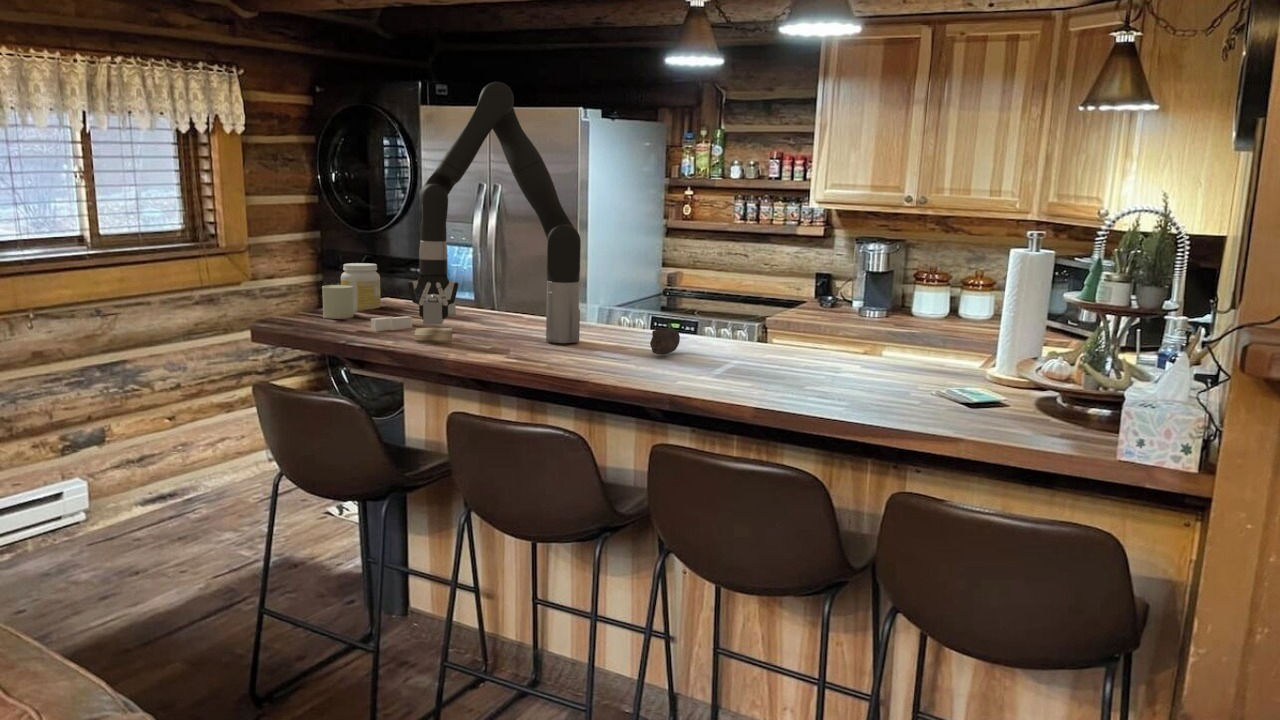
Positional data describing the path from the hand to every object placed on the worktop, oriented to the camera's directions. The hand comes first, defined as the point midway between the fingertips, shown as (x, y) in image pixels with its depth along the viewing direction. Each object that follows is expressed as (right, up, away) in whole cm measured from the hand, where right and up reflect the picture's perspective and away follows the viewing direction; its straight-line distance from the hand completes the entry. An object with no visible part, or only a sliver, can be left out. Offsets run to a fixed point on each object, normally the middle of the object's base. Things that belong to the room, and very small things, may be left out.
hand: (433, 318), depth 265 cm
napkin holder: (-15, -5, +9) cm, 18 cm away
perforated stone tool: (+64, -10, -6) cm, 66 cm away
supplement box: (-6, 0, +35) cm, 35 cm away
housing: (0, -1, +1) cm, 1 cm away
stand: (0, -6, +1) cm, 6 cm away
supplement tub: (-33, +2, +44) cm, 55 cm away
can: (-34, -1, +25) cm, 43 cm away
